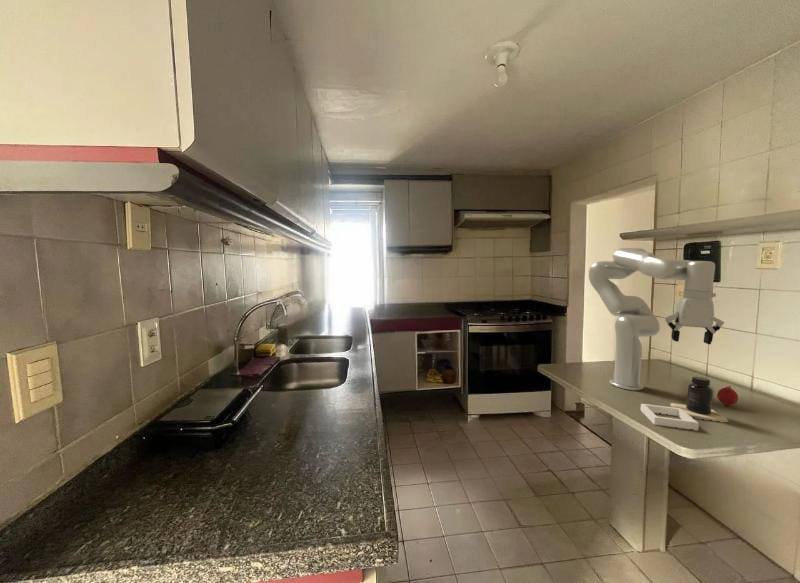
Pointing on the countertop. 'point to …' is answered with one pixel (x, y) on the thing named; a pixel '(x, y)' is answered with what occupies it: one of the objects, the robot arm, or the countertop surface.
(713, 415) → the board
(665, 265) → the robot arm
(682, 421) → the white square frame
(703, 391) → the supplement bottle
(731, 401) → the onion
